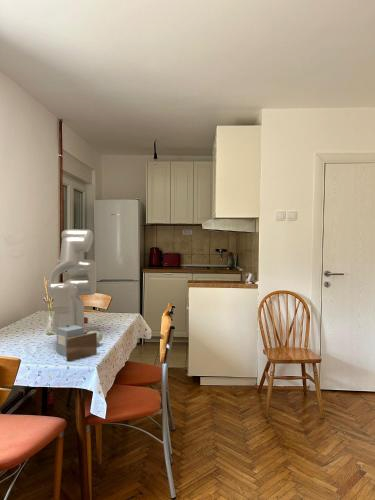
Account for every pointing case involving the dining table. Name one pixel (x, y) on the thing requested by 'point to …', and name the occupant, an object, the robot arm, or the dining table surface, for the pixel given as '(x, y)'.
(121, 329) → the dining table surface
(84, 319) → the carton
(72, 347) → the board
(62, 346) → the grey box
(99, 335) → the sage mug
